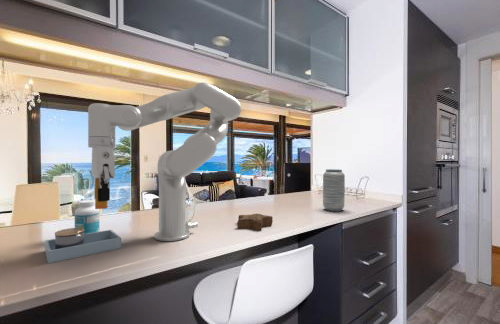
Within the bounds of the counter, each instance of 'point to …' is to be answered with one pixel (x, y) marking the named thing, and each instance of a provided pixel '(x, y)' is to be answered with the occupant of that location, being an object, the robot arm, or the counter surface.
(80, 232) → the tin
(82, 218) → the pill bottle
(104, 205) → the supplement box
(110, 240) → the tote
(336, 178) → the vase
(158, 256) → the counter surface
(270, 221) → the decorative item
